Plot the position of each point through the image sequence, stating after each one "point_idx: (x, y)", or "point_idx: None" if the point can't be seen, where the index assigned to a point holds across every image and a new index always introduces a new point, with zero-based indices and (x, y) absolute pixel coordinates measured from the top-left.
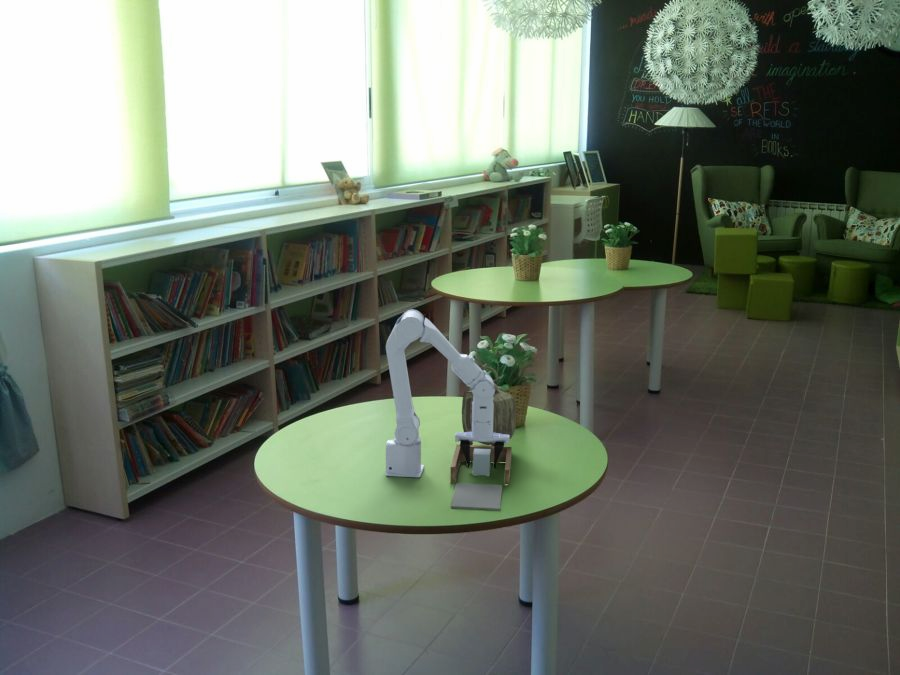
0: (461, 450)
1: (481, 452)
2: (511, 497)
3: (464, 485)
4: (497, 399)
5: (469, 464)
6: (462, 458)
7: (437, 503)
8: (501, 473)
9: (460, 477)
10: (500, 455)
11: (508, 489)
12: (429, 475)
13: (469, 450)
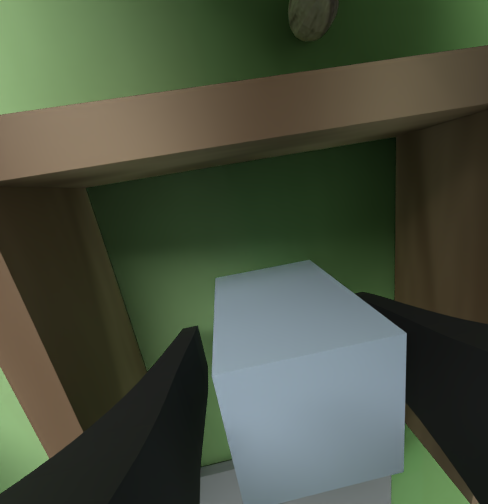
0: (29, 186)
1: (316, 444)
2: (421, 480)
3: (231, 487)
4: None
5: (206, 391)
6: (89, 184)
7: None
8: (373, 290)
9: None
10: (395, 129)
11: (410, 431)
12: (9, 432)
13: (182, 478)
